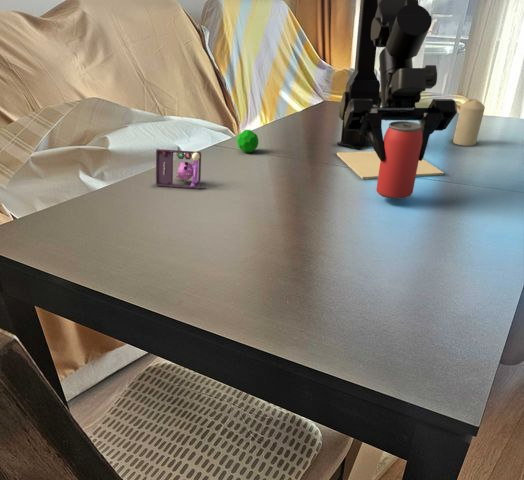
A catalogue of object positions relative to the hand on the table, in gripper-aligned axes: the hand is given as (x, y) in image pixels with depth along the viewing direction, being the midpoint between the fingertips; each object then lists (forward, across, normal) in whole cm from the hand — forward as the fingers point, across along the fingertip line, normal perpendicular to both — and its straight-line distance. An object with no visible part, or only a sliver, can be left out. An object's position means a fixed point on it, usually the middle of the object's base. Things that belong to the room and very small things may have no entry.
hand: (401, 159), depth 88 cm
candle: (-23, +28, +36) cm, 51 cm away
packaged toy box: (-2, -40, +14) cm, 43 cm away
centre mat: (-11, +4, +23) cm, 26 cm away
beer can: (+4, 0, +6) cm, 7 cm away
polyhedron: (-18, -26, +30) cm, 44 cm away
